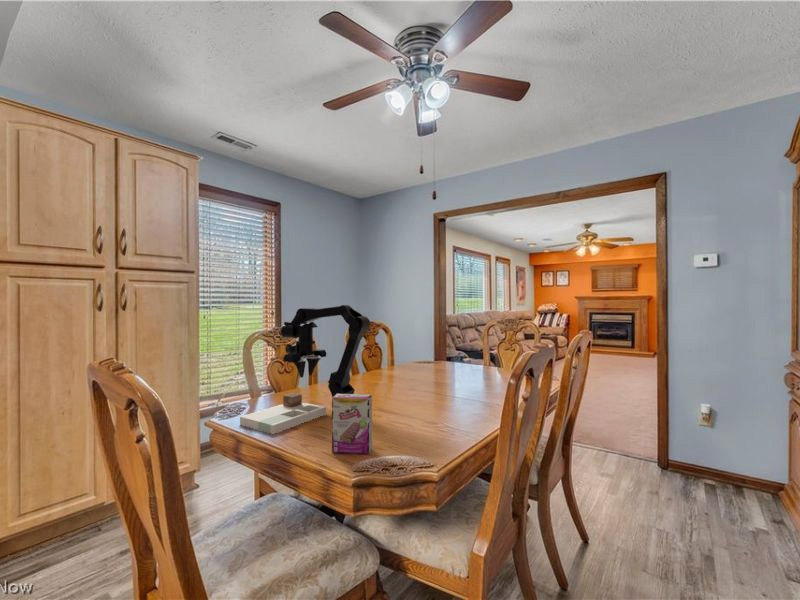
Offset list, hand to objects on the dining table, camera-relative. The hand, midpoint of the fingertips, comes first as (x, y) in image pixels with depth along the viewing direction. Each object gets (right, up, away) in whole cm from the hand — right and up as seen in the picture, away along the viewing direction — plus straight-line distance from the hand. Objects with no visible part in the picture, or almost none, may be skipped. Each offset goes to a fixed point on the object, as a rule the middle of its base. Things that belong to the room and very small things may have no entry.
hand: (305, 376), depth 157 cm
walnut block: (-4, -10, -6) cm, 12 cm away
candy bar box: (+25, -13, -45) cm, 53 cm away
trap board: (-4, -13, -15) cm, 20 cm away
